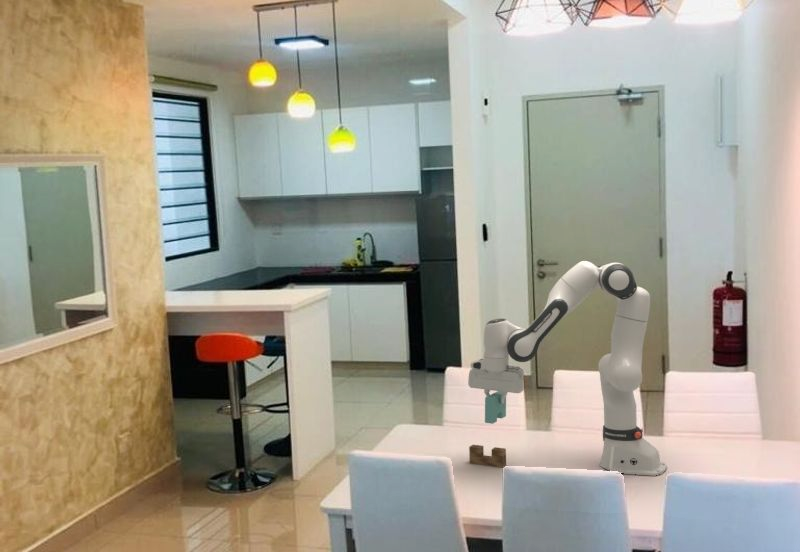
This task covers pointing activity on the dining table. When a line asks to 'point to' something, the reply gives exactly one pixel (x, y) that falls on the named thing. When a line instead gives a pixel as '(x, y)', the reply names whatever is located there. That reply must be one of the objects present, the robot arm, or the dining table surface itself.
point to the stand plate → (479, 457)
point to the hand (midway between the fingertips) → (495, 402)
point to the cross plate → (494, 407)
